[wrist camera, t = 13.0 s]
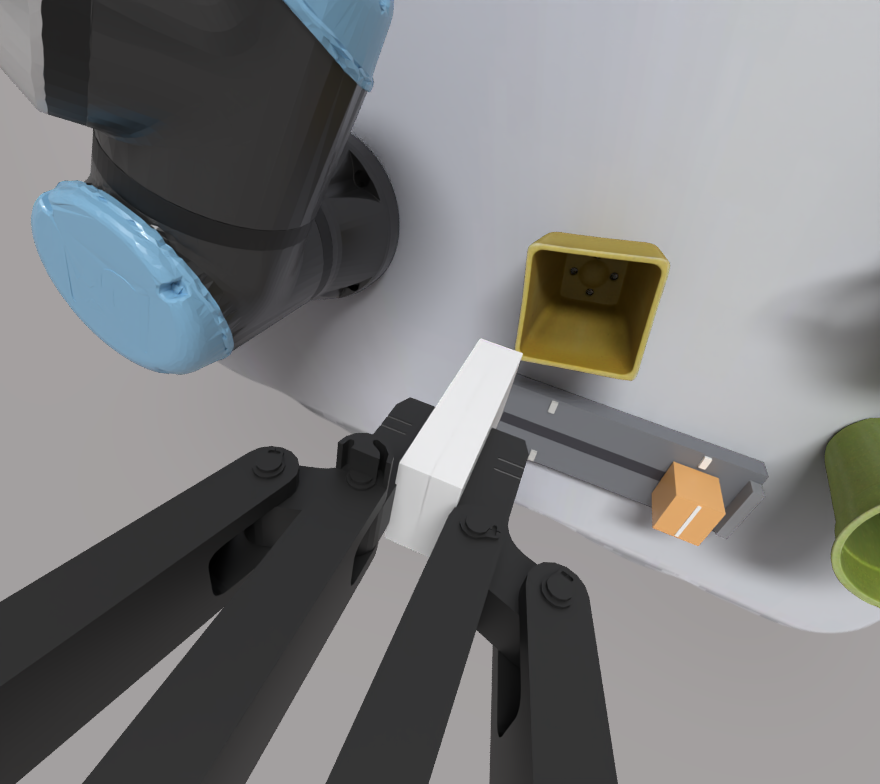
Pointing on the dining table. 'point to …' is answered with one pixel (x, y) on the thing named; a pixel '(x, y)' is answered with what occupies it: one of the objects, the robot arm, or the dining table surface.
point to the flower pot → (590, 303)
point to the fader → (687, 504)
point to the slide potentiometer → (623, 449)
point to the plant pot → (856, 507)
